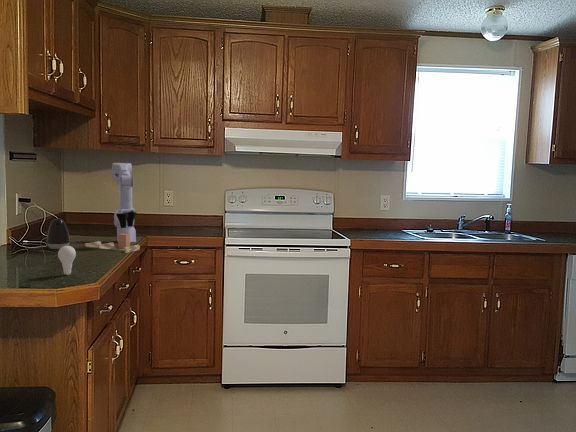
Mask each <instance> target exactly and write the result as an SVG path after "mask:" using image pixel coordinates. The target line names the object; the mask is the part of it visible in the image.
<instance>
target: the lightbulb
mask: <svg viewBox="0 0 576 432" xmlns="http://www.w3.org/2000/svg"><path fill="white" fill-rule="evenodd" d="M76 256H77V252H76V249H75V248H74V247H73V246H71V245H69V246H63V247H62V248H60V249H58V253H57V257H58V259H59V261H60V263H61V264H62V269H63V274H64V275H65V276H69V275H71V273H72V268H73V263H74V260H75V258H76Z"/></svg>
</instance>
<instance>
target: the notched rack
mask: <svg viewBox="0 0 576 432" xmlns="http://www.w3.org/2000/svg"><path fill="white" fill-rule="evenodd" d="M84 247H85V248H93V249H100V250H101V249H102V250H112V251H113V250H114V251H120V252H121V253H124V254H127V253H131V252H138V251H140V248H141V245H140V244H135V245H130V246H129V247H124V249H118V244H116V245H115V243H114V242H113V241H112V242H105V243H102V241H100V240H97V241H94V242H87V243H86V242H85V243H84Z"/></svg>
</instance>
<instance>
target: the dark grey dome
mask: <svg viewBox="0 0 576 432" xmlns="http://www.w3.org/2000/svg"><path fill="white" fill-rule="evenodd" d="M47 230H48V231H47V236H46V244H47V247H48V248H49V249H50V250H51V249H52V250H60V248H62V247H63V246H70V243H71V239H70V238H71V237H70V233H69V229H68V227H67V223H65V221H64V219H62V218H59V217H58V218H54V219H53V220H52V221H51V222H50V225H49V227H48V229H47Z"/></svg>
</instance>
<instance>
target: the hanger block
mask: <svg viewBox="0 0 576 432" xmlns="http://www.w3.org/2000/svg"><path fill="white" fill-rule="evenodd" d="M117 243H118V244H117V245H118V249H124V247H129V246H131V242H130V234H124V233H122V234H118V242H117Z"/></svg>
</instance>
